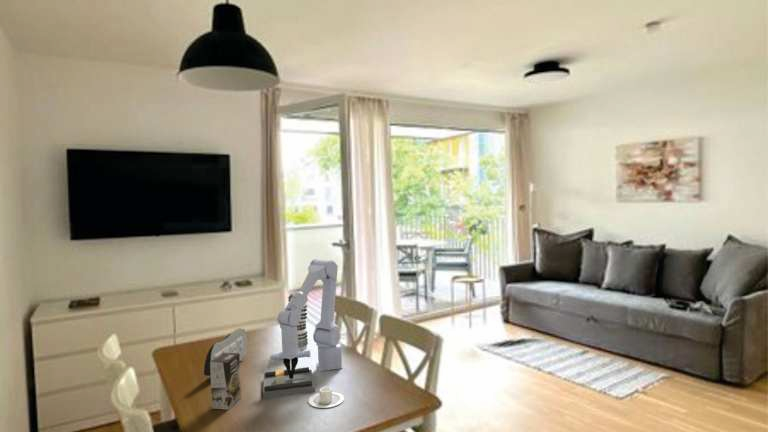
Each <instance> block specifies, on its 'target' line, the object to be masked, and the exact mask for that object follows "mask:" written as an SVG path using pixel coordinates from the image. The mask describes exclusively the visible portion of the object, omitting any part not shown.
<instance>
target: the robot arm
mask: <svg viewBox="0 0 768 432" xmlns="http://www.w3.org/2000/svg"><path fill="white" fill-rule="evenodd" d="M338 268H339V266H338V265H337V263H336V262H335V261H334V260H331V259H330V260H327V259H317V258H314V259H312V260H311V261H310V263H309V265H308V267H307V270H308V273H307V275H306V277H305V279H304V281H303V283H302V284H301V287H300V289H299V291H296V292H293V293H294V294H293V296H292V298H291V300H290V301H289V300H288V304H287V305H286V307H285V308H284V309H282V310H280V312H279V313H278V314H277V315H278V316H277V319H276V320H277V323H278V324H279V328H280V330H281V331H280V332H281V351H280V352H277V353H272V354H270V355H269V361H270V362H274V361H280V360H282V362H283V365H284V367H285V370H287V371H288V374H289V379H293V376H294V371H295V369H297V365H298V362H299V359H300V358H311V350H298V336H297V324H298V323H299V322H300V318H301V313H302V312H301V311H302V309H303V308H304V306H305V304H306V305H307V302H308V300H309V298H308V295H309V294H310V292H311V290H312V289H313V288H314V286H315V285H316V283H317V282H318V281H319V280H320V281H321V282H322V296H321V311H320V321H319V322H317V323H316V324H315V329H314V331H313V334H312V335H313V336H312V338H313V341H314V343H316V344H315V345H316V346H317V356H318V357H317V358H318V359H317V360H318V361H317V363H316V367H317V369H318V371H319V372H323V371H330V370H340V369H343V365H342V363H343V361H342V360H343V359H342V357H343V356H342V347H341V344H340V343H339V341H340V339H341V338H340V331H339V329H340V328H339V325H338V324H336V323H335V320H334V319H335V307H336V296H337V295H336V294H337V293H336V292H337V283H338V282H337V279H338Z"/></svg>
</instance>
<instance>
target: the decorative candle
mask: <svg viewBox="0 0 768 432" xmlns="http://www.w3.org/2000/svg"><path fill="white" fill-rule="evenodd" d="M294 293H295V292H293V293H291V294H289V296H288V297H287V299H288V302H289V301H290V300H291V298H292V296H293V294H294ZM307 308H308V305H307V303H306V304H305V306H304V308H303V309H302V311H301V312H302V313H301V318H300V322H299V323H298V324H297V336H298V351H304V350H305V349H308V347H309V345H308V344H309V343H308V341H309V340H308V331H307V322H308V320H307V319H308V316H307V315H308V312H307V311H308V309H307Z"/></svg>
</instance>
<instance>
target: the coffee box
mask: <svg viewBox="0 0 768 432" xmlns="http://www.w3.org/2000/svg"><path fill="white" fill-rule="evenodd" d="M210 372H211V376H210V388H211V389H210V390H211V391H210V393H211V397H210V398H211V409H214V410H224V411H225V410H227V411H228V410H230V409H231V408H232V407H233V406H234V405H235V404H236V403H237V402H238V401H239V400H241V399H242V382H241V381H242V379H241V361H240V356H239V353H223V354H221V355H220V356H218V357H217V358H215V359H214V360H212V361H211V362H210Z"/></svg>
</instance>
